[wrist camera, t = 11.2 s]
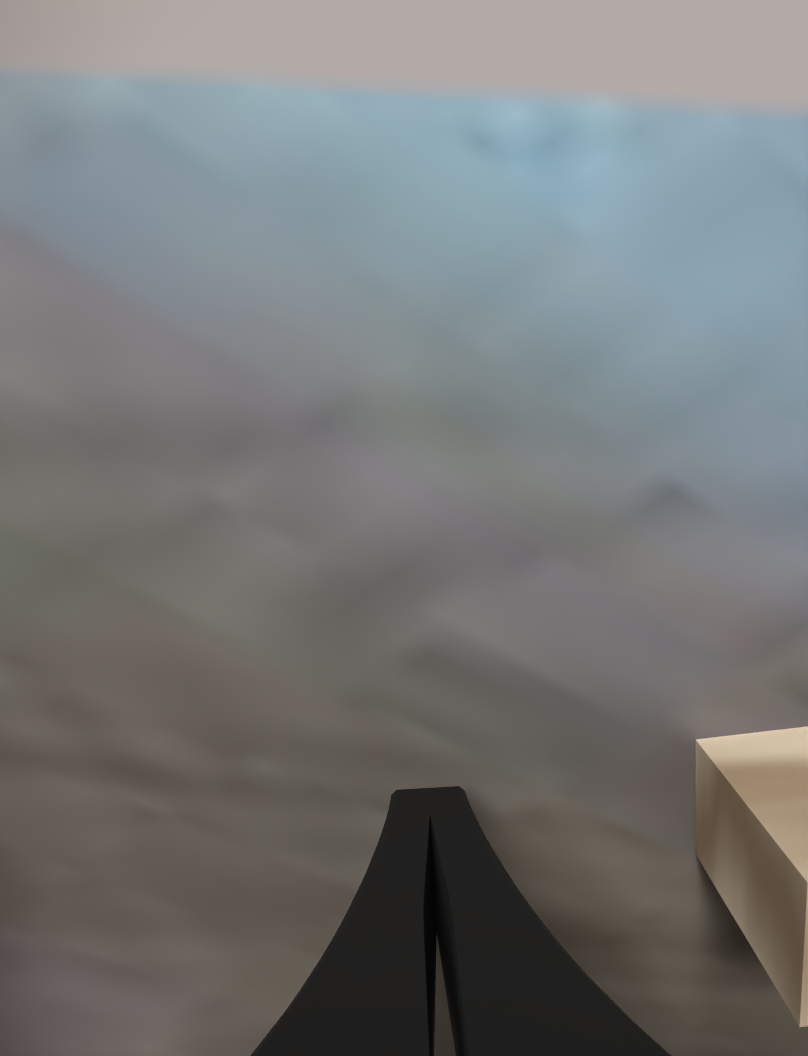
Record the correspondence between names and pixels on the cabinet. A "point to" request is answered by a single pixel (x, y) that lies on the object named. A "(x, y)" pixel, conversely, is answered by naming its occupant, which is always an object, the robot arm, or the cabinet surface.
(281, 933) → the cabinet surface
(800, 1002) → the tan wooden block
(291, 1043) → the robot arm
